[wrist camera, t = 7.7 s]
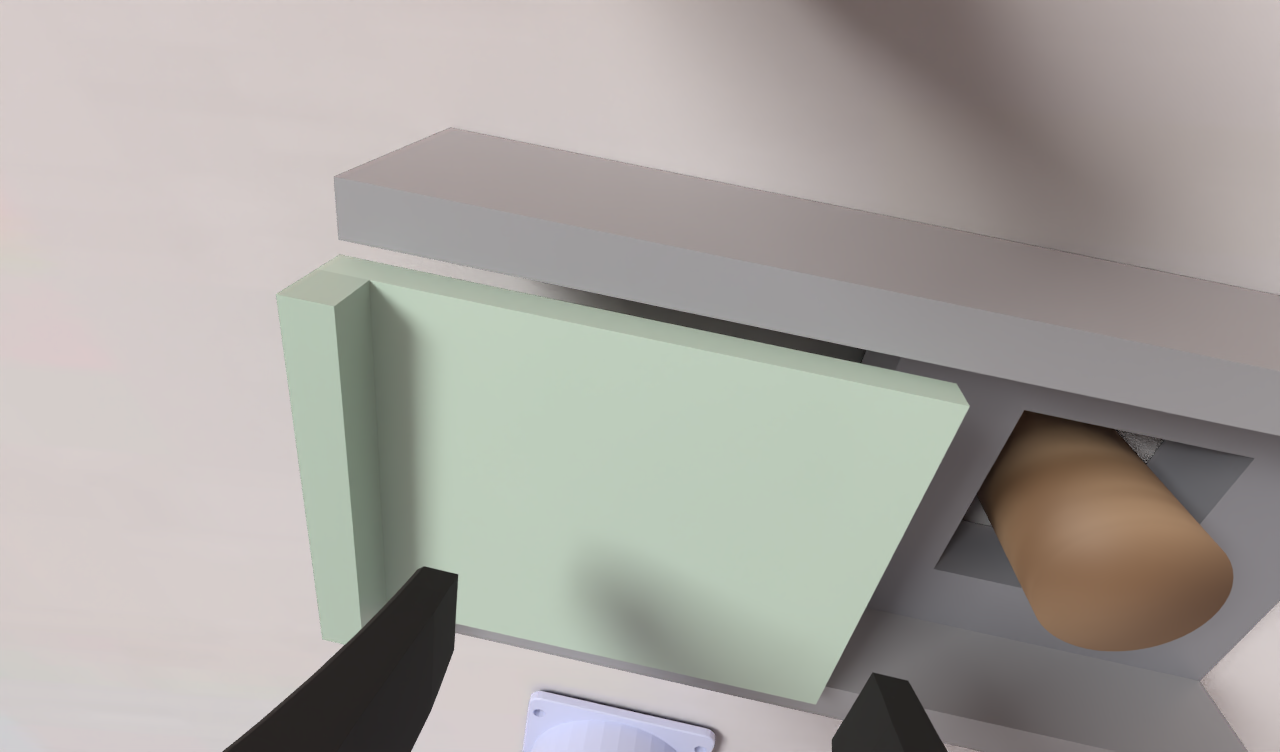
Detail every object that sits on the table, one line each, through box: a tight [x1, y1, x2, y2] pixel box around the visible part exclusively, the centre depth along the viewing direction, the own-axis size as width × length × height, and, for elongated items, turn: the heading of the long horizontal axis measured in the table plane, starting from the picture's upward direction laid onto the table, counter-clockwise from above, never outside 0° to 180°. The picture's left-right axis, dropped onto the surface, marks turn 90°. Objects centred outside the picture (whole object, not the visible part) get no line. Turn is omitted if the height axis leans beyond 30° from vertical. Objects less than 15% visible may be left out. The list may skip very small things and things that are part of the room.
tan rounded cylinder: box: [977, 410, 1234, 651], centre depth 17 cm, size 4×4×5 cm
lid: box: [276, 255, 970, 705], centre depth 14 cm, size 9×12×2 cm
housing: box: [334, 128, 1280, 752], centre depth 17 cm, size 12×24×6 cm, turn 81°
